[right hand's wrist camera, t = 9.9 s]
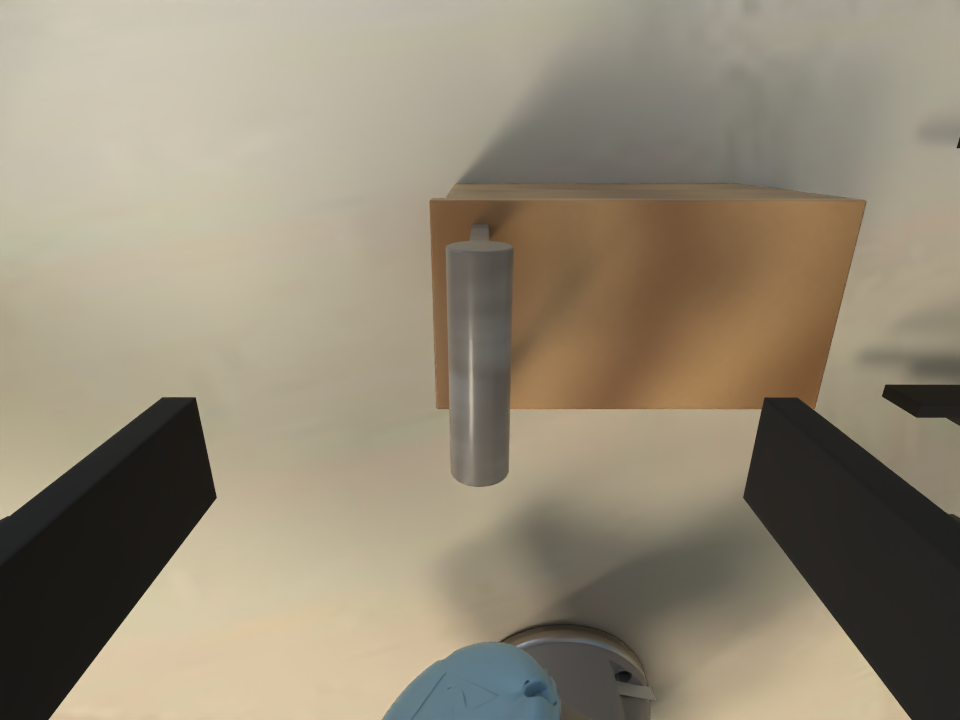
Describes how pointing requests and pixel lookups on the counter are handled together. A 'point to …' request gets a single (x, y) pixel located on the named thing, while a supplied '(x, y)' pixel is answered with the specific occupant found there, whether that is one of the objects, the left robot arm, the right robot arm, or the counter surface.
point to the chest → (623, 191)
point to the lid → (628, 307)
